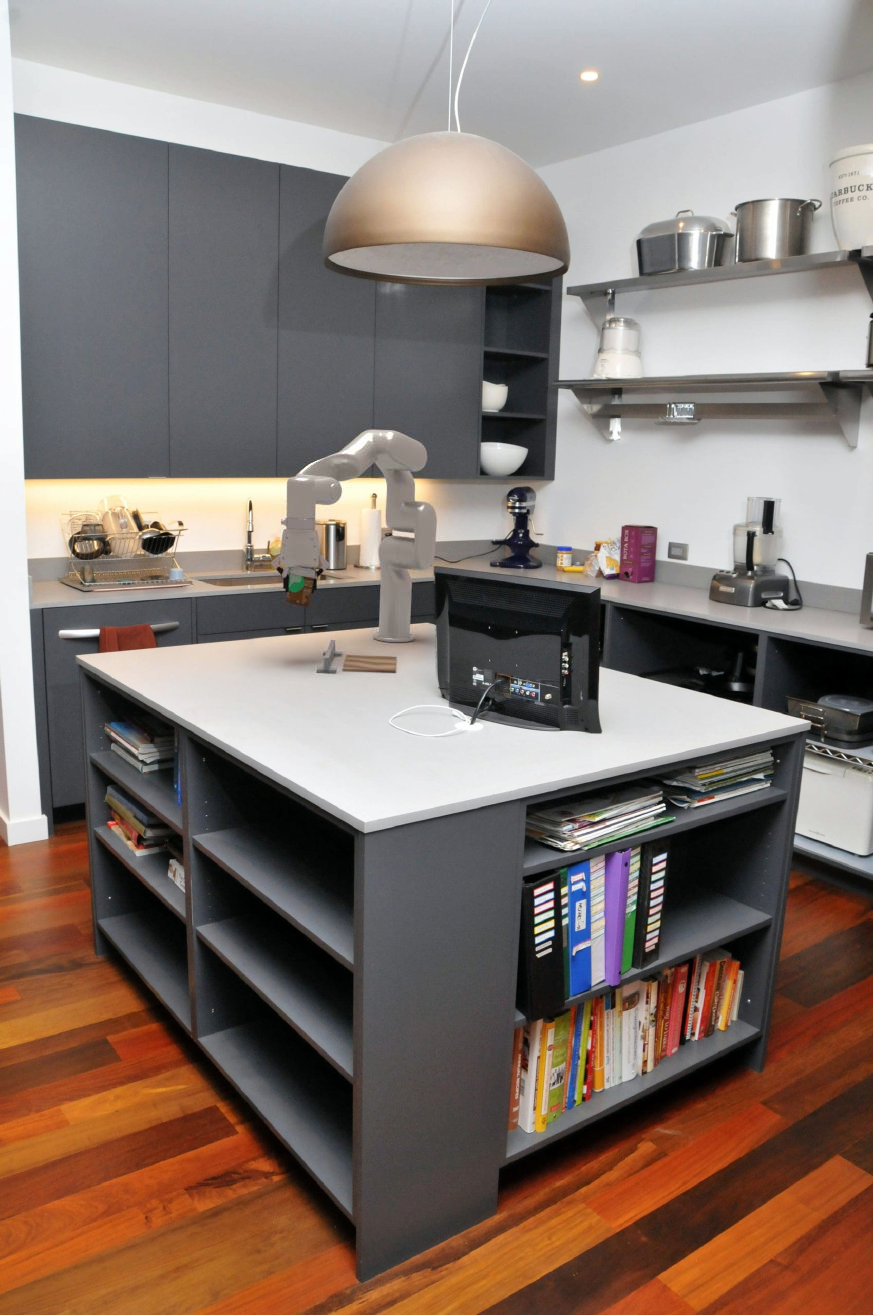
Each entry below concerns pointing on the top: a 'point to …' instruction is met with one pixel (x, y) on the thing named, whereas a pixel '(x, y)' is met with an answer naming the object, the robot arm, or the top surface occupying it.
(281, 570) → the robot arm
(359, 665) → the walnut board
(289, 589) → the food container
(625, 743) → the top surface
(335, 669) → the grey footed rail
